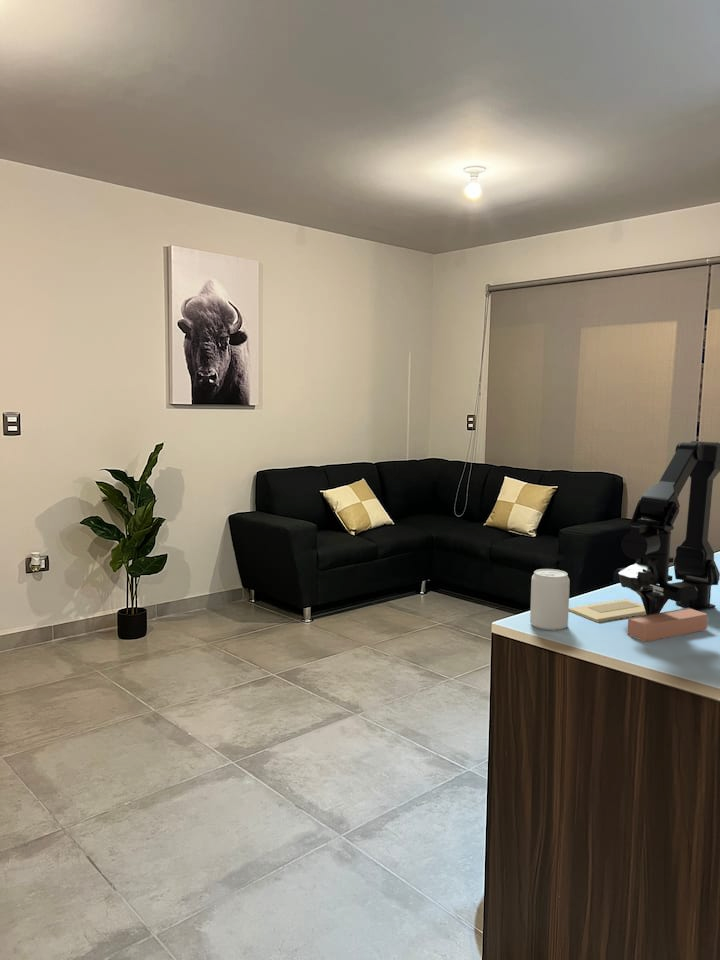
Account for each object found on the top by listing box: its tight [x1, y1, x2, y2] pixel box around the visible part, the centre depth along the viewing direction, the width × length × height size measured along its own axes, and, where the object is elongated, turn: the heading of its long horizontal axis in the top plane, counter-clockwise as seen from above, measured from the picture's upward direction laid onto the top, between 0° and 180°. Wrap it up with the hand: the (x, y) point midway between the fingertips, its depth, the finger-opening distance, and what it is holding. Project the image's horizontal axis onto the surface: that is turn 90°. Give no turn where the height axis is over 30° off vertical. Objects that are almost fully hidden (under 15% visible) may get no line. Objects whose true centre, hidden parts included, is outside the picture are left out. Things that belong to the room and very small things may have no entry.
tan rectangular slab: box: [568, 598, 646, 623], centre depth 172 cm, size 18×10×1 cm, turn 115°
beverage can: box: [529, 568, 571, 631], centre depth 161 cm, size 8×8×12 cm
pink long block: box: [627, 607, 708, 642], centre depth 158 cm, size 18×5×4 cm, turn 115°
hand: (651, 621), depth 161 cm, fingers closed
